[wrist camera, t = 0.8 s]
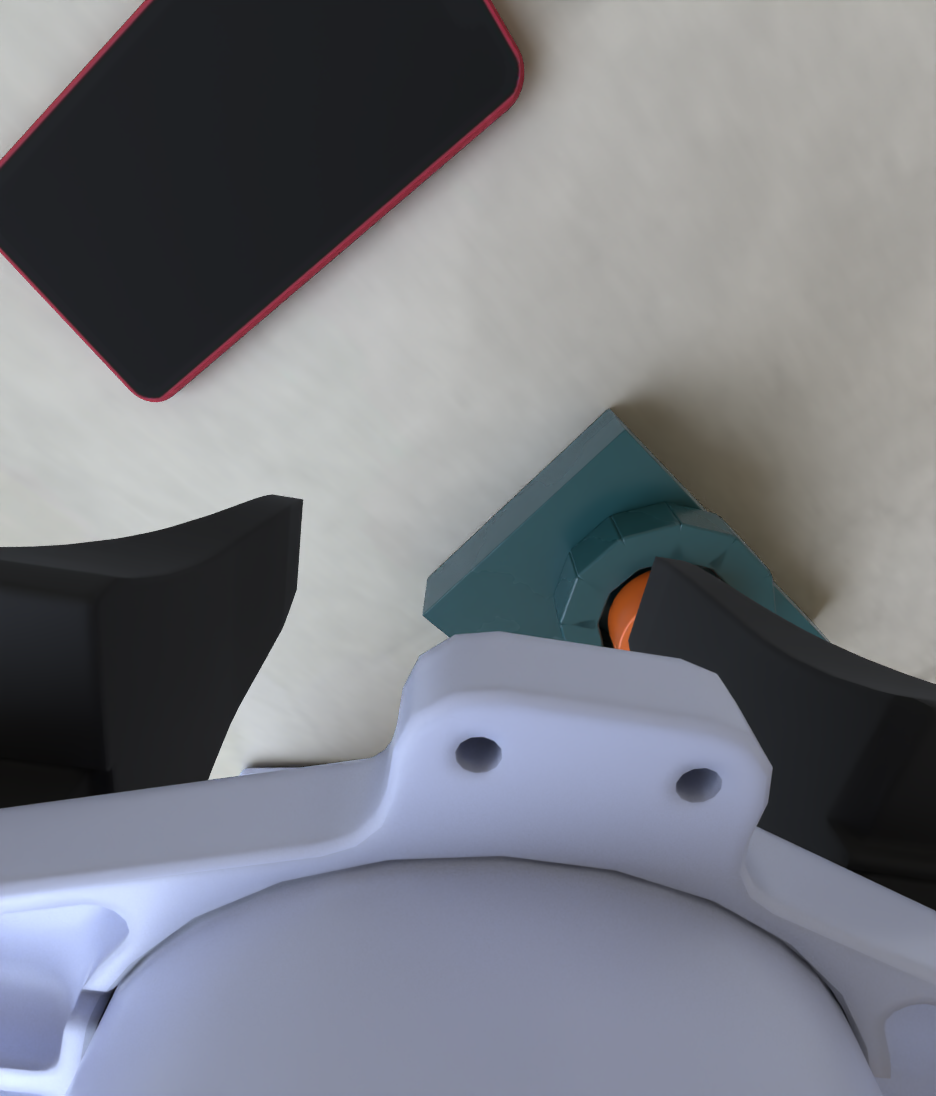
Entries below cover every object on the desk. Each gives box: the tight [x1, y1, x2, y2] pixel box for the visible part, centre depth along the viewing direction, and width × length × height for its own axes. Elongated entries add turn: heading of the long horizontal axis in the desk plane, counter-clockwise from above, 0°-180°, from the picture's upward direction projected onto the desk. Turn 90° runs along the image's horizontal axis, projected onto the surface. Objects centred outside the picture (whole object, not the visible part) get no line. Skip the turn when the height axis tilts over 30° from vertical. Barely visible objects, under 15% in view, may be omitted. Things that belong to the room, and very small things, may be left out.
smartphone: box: [0, 0, 524, 402], centre depth 18 cm, size 7×1×15 cm
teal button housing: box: [423, 409, 829, 649], centre depth 23 cm, size 12×9×4 cm
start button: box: [608, 570, 651, 651], centre depth 20 cm, size 4×4×2 cm
